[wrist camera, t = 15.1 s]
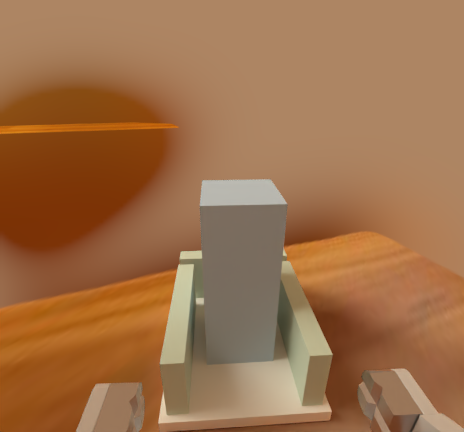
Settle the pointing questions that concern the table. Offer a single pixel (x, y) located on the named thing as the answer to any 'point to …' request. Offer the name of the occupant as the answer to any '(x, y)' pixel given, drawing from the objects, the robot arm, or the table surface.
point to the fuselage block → (241, 268)
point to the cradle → (241, 374)
